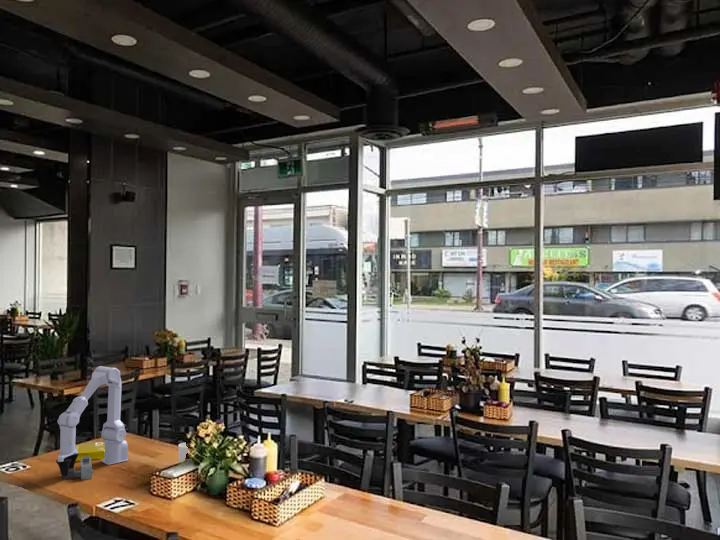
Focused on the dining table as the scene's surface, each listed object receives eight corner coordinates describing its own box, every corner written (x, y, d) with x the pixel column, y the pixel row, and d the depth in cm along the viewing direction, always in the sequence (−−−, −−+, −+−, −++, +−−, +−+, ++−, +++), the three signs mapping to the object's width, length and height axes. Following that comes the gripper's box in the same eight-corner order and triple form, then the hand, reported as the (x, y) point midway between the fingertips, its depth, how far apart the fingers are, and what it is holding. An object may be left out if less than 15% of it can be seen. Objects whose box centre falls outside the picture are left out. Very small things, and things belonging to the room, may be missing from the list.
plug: (92, 473, 251) (92, 466, 251) (92, 476, 248) (92, 469, 248) (61, 476, 247) (61, 469, 247) (60, 479, 243) (60, 472, 243)
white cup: (185, 471, 256) (185, 448, 256) (174, 467, 261) (174, 444, 261) (199, 466, 262) (200, 444, 262) (188, 463, 267) (189, 441, 267)
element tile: (71, 453, 279) (72, 443, 279) (106, 450, 285) (106, 440, 285) (71, 463, 265) (71, 452, 266) (107, 459, 272) (107, 449, 272)
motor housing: (90, 469, 256) (90, 455, 256) (91, 478, 245) (92, 463, 245) (80, 471, 254) (80, 456, 254) (81, 479, 243) (81, 464, 243)
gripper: (70, 446, 239) (69, 479, 239) (84, 436, 254) (83, 468, 254) (52, 446, 239) (51, 479, 239) (67, 436, 253) (67, 468, 253)
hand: (67, 473), depth 246 cm, fingers closed on plug, 5 cm apart
